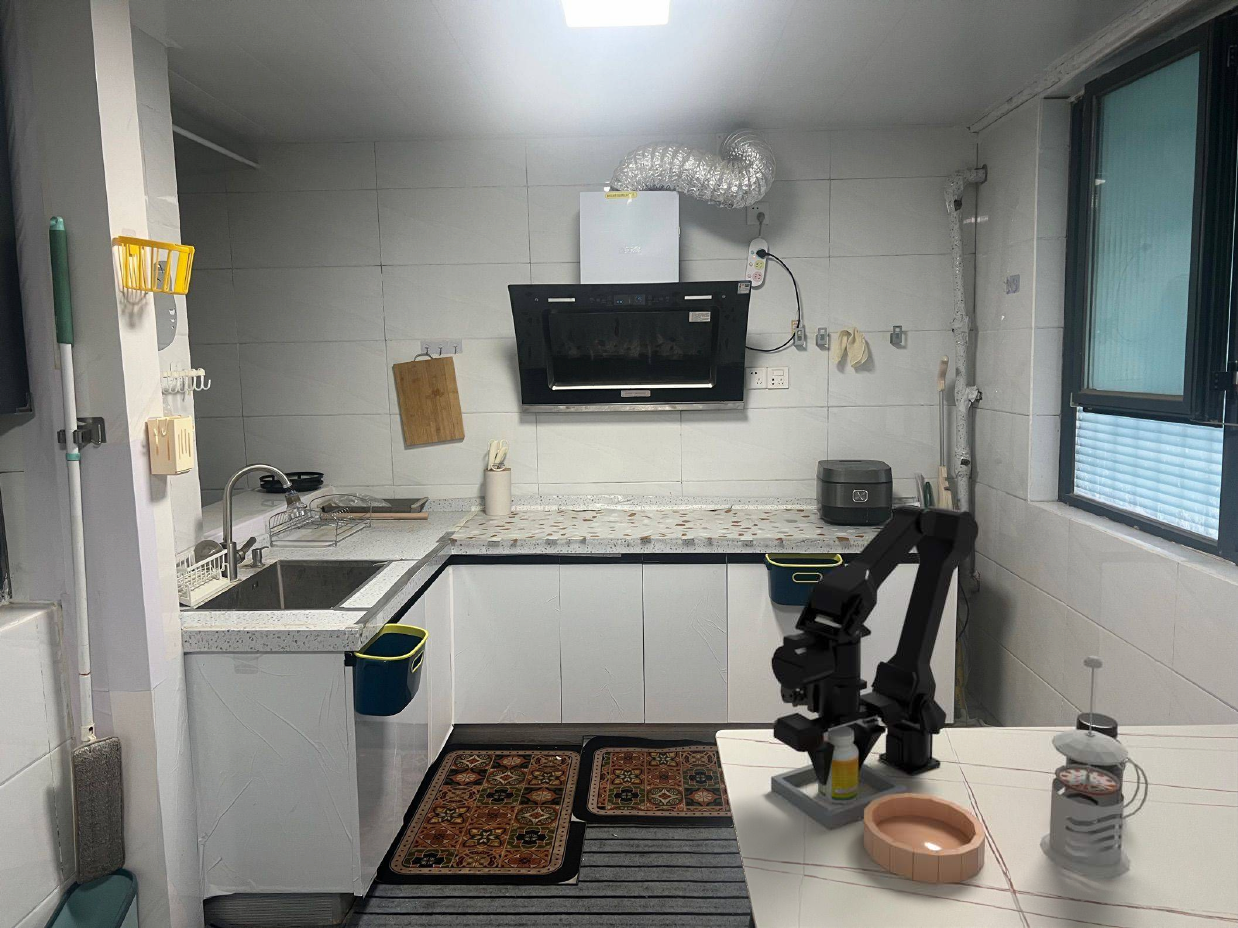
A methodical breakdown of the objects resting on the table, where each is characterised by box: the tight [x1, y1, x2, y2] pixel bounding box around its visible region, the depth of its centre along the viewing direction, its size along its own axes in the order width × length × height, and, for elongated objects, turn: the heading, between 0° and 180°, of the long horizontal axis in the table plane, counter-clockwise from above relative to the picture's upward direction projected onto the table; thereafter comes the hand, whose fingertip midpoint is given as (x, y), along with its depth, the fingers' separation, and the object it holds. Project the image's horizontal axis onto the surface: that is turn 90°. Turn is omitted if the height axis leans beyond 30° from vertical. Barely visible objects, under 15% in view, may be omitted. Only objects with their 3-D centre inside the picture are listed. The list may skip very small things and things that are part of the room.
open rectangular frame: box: [770, 762, 908, 831], centre depth 119 cm, size 14×12×2 cm
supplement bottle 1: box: [817, 726, 859, 805], centre depth 118 cm, size 5×5×10 cm
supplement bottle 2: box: [1063, 712, 1125, 805], centre depth 115 cm, size 7×7×12 cm
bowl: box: [863, 792, 986, 885], centre depth 106 cm, size 14×14×4 cm
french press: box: [1039, 655, 1149, 878], centre depth 103 cm, size 10×12×25 cm
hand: (838, 778), depth 119 cm, fingers closed on supplement bottle 1, 5 cm apart
